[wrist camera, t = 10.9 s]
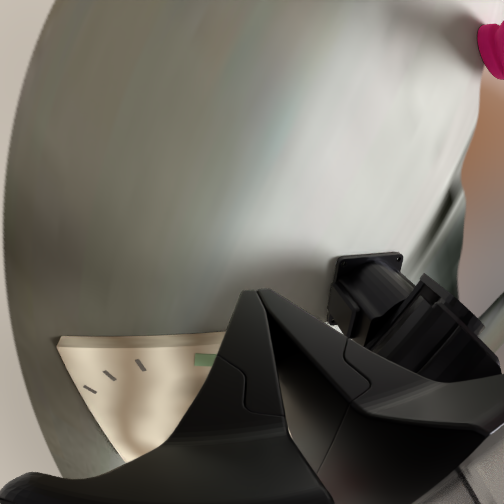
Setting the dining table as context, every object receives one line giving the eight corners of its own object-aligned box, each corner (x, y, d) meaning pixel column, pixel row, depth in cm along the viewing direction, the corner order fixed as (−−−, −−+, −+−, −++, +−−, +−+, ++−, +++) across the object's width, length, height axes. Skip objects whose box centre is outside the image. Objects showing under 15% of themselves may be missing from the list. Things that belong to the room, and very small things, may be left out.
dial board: (318, 320, 25) (324, 332, 24) (292, 442, 35) (295, 451, 33) (61, 335, 22) (56, 347, 20) (126, 453, 31) (125, 462, 30)
